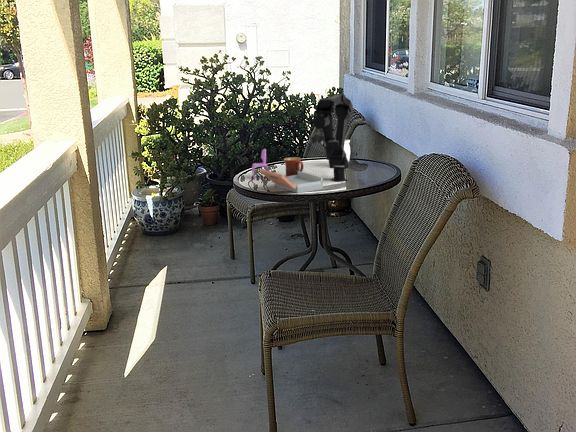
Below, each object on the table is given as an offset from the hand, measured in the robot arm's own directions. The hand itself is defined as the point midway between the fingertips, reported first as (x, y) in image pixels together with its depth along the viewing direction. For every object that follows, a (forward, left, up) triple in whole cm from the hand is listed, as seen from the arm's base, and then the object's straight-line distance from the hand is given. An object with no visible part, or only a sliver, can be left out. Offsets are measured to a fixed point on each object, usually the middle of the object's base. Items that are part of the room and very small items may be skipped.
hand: (328, 159), depth 277 cm
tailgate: (-2, -21, -10) cm, 24 cm away
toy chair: (-35, -27, -13) cm, 46 cm away
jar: (-45, +19, -13) cm, 51 cm away
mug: (-25, -11, -13) cm, 30 cm away
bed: (-5, -14, -13) cm, 19 cm away
